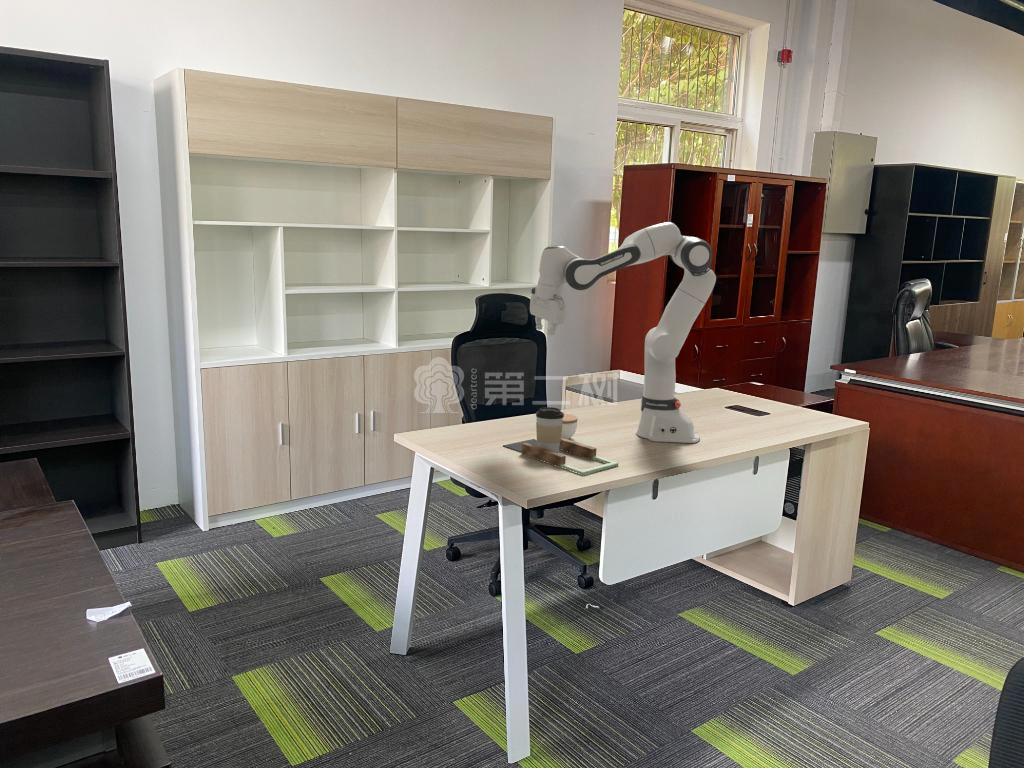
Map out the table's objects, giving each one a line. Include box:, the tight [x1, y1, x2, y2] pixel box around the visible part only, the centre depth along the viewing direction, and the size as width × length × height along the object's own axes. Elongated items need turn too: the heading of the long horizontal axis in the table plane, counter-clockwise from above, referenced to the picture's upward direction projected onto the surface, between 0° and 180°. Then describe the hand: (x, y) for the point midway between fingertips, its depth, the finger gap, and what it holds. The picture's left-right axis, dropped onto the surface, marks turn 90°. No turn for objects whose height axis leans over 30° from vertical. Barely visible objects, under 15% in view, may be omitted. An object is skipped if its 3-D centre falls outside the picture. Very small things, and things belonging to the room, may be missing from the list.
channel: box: [521, 437, 597, 468], centre depth 242 cm, size 18×16×4 cm
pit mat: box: [502, 438, 538, 453], centre depth 253 cm, size 9×14×1 cm, turn 131°
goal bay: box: [561, 455, 619, 476], centre depth 232 cm, size 10×16×1 cm, turn 131°
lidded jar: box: [561, 411, 578, 440], centre depth 263 cm, size 11×11×9 cm
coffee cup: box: [535, 406, 564, 454], centre depth 245 cm, size 9×9×15 cm
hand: (544, 332), depth 261 cm, fingers open, 8 cm apart
